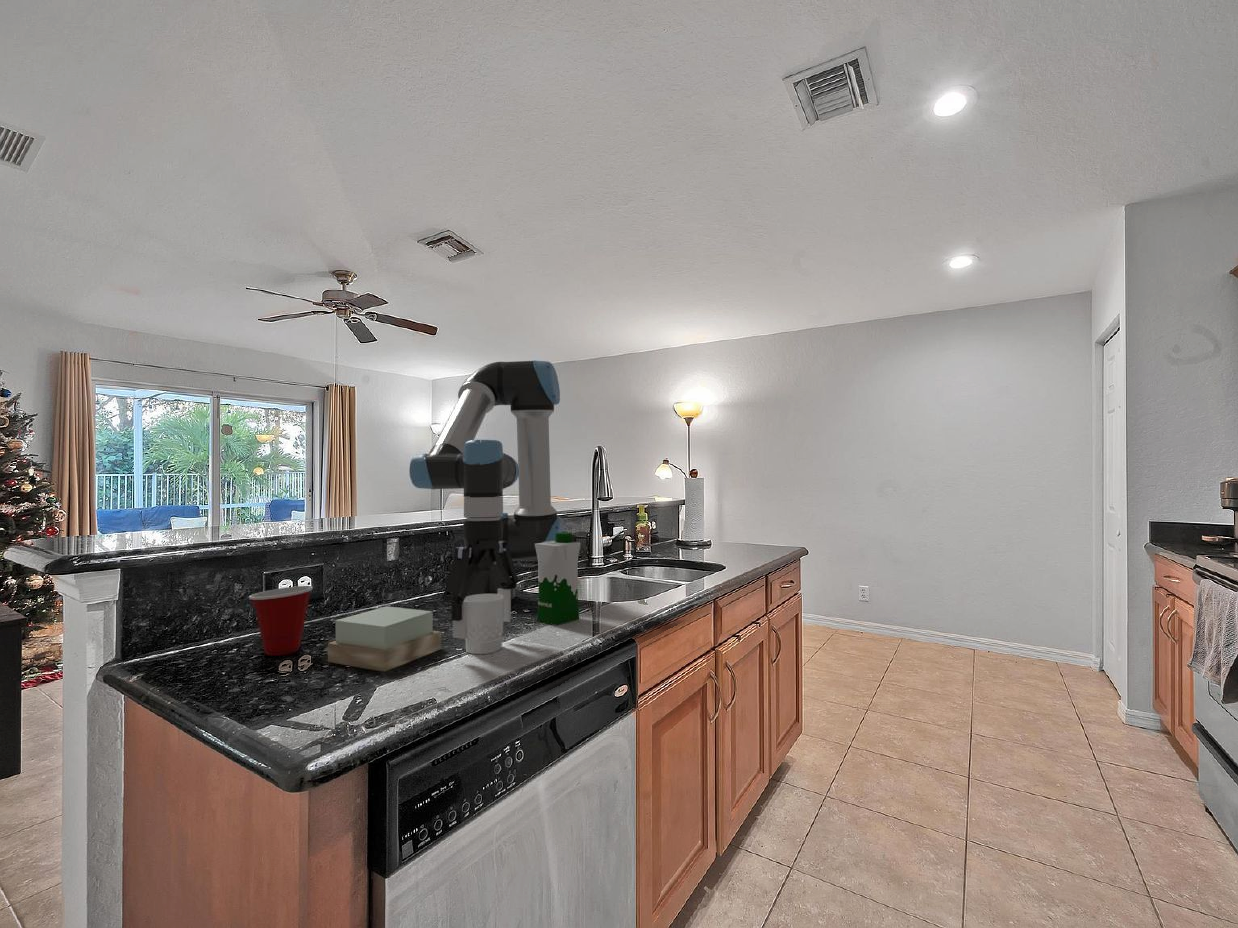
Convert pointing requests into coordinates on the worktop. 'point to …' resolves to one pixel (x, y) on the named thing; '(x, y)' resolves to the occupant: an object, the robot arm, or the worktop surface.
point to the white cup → (484, 623)
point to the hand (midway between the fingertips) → (483, 629)
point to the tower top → (384, 627)
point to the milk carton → (558, 580)
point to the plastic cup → (281, 618)
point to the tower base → (384, 653)
